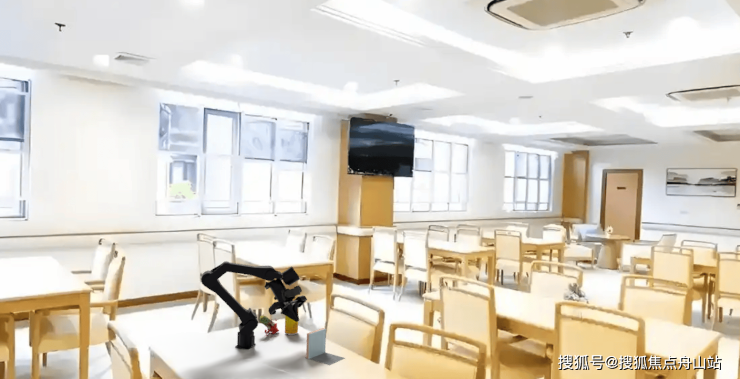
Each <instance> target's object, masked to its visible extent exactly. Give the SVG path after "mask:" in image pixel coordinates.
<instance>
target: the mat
mask: <svg viewBox="0 0 740 379" xmlns="http://www.w3.org/2000/svg"><path fill="white" fill-rule="evenodd" d="M304 358H305V359H308V358H306V357H304ZM344 359H345V360H346V357H342V356H339V355H336V354H332V353H328V352H326V351H325V353H323V354H320V355H318V356H315V357H313V358H310V359H308V360H311V361H313V362H318V363H321V364H324V365H327V366H331V365H333V364H335V363H337V362H340V361H342V360H344Z"/></svg>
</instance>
